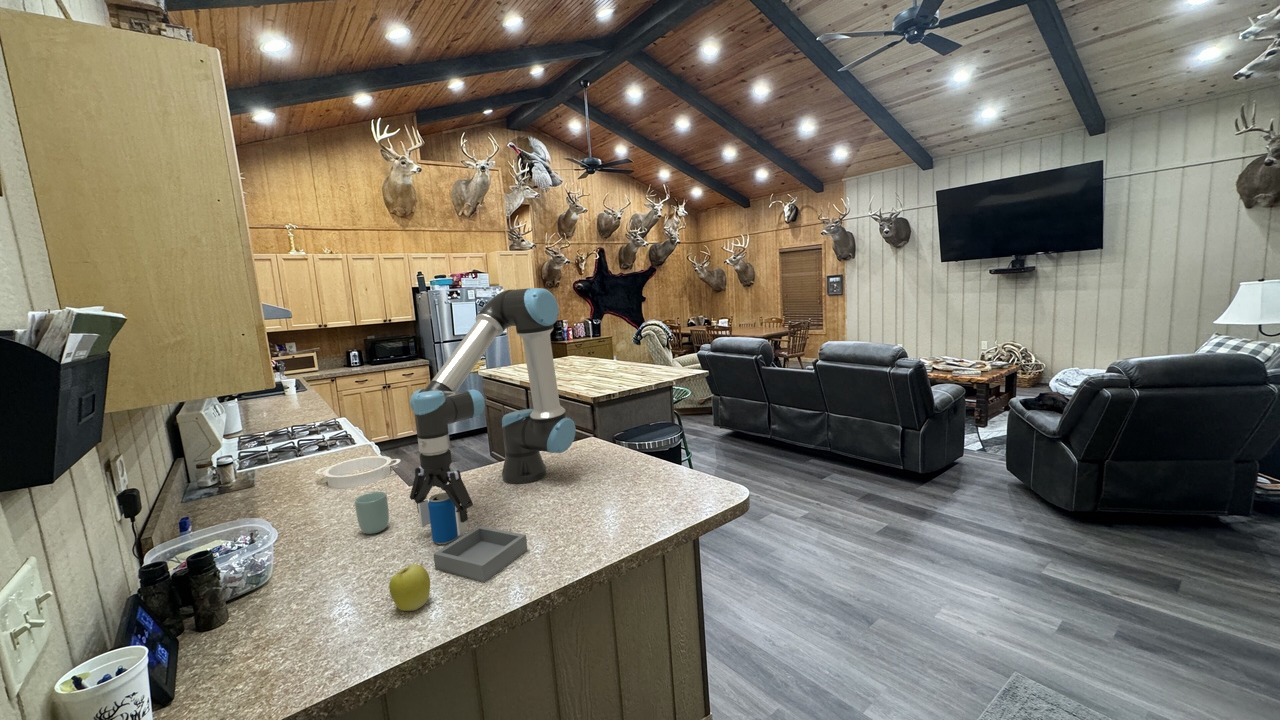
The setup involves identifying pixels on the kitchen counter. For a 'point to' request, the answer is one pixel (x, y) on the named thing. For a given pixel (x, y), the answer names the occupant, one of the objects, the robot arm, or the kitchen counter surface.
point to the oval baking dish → (357, 464)
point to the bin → (480, 553)
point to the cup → (372, 512)
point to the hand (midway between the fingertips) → (443, 529)
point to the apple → (410, 588)
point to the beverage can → (442, 519)
